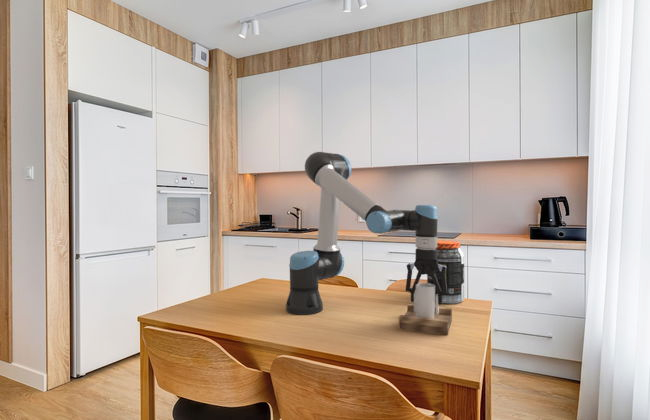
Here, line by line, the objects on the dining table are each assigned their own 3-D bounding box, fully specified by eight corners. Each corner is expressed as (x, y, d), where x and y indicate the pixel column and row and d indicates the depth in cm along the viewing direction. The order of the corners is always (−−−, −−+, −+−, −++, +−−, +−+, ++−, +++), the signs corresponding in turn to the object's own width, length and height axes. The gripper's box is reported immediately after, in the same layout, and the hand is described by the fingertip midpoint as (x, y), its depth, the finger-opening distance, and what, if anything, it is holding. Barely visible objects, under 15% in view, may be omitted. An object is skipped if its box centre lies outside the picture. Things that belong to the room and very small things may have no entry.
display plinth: (399, 329, 131) (399, 316, 131) (408, 315, 147) (408, 303, 147) (447, 335, 125) (447, 322, 125) (451, 320, 141) (451, 308, 141)
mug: (430, 323, 130) (430, 288, 129) (412, 319, 134) (412, 285, 134) (441, 316, 138) (441, 283, 137) (424, 312, 142) (424, 280, 142)
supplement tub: (471, 300, 167) (471, 242, 166) (448, 306, 158) (448, 244, 157) (442, 293, 180) (442, 239, 179) (419, 298, 171) (419, 241, 170)
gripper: (396, 248, 136) (396, 312, 136) (454, 251, 128) (454, 318, 129) (400, 245, 143) (400, 306, 143) (456, 248, 135) (456, 312, 135)
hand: (426, 312), depth 136 cm, fingers open, 7 cm apart
